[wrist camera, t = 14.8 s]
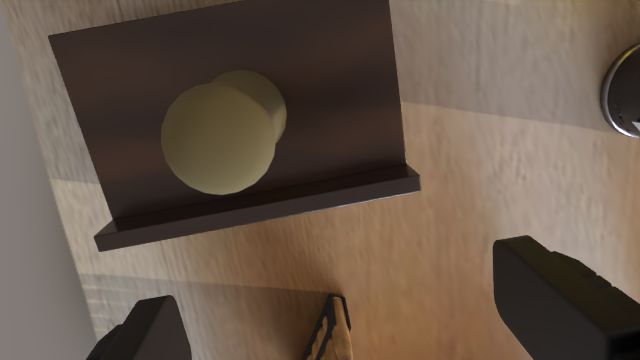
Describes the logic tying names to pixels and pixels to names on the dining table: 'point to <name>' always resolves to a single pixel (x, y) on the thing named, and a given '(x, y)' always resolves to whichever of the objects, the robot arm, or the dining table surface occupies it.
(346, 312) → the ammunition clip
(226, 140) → the cork
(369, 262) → the dining table surface
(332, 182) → the shelf
